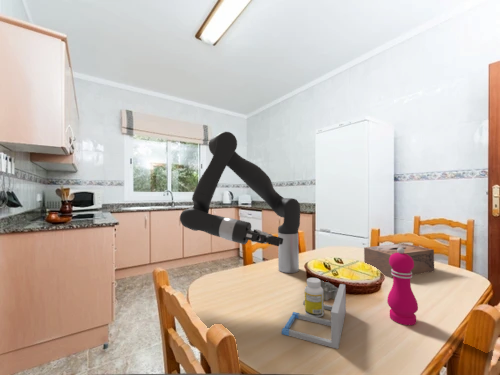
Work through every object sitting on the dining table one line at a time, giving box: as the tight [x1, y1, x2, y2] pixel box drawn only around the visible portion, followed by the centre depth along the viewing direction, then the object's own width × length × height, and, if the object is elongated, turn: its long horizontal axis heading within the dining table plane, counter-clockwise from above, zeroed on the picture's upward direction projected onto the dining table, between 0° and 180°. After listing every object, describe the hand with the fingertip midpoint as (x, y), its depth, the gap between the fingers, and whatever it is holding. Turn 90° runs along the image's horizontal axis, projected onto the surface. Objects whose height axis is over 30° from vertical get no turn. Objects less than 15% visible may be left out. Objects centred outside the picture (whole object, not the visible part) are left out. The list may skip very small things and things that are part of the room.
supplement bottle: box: [304, 277, 325, 318], centre depth 70 cm, size 5×5×10 cm
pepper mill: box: [386, 247, 419, 326], centre depth 66 cm, size 7×7×20 cm
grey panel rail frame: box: [281, 283, 347, 350], centre depth 65 cm, size 19×14×8 cm
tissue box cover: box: [363, 243, 435, 279], centre depth 109 cm, size 26×14×10 cm, turn 110°
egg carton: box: [320, 280, 339, 301], centre depth 84 cm, size 11×8×4 cm
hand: (281, 242), depth 77 cm, fingers open, 8 cm apart
